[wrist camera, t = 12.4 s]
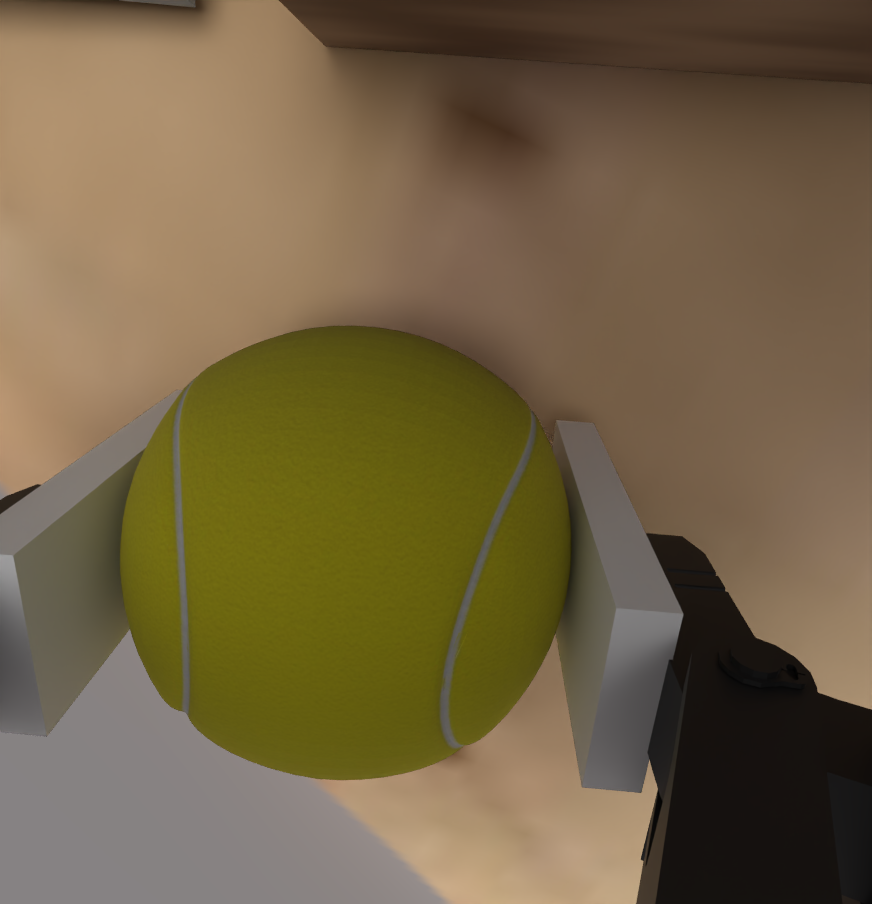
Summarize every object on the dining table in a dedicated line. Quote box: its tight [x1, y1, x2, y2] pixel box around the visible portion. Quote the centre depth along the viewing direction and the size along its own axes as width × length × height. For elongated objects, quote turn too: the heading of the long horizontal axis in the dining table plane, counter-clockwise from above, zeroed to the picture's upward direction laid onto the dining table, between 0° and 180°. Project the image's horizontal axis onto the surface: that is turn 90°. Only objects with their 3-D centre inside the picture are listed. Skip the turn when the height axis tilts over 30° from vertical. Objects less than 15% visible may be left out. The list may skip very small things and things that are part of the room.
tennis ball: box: [120, 326, 572, 780], centre depth 11 cm, size 7×7×7 cm
